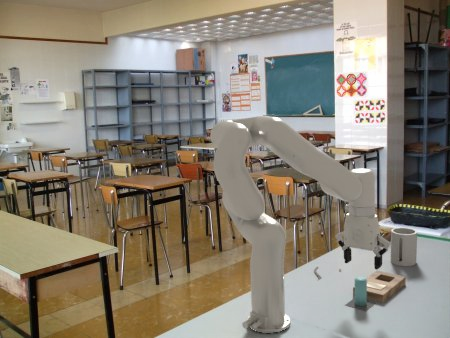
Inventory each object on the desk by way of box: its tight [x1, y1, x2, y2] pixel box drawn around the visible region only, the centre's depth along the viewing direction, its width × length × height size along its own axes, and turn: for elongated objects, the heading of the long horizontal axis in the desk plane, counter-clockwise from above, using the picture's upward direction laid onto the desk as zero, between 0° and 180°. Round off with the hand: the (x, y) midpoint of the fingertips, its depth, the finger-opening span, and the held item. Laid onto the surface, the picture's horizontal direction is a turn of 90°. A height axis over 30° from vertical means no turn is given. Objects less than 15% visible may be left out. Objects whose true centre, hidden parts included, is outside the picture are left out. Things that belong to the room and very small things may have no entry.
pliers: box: [313, 266, 342, 281], centre depth 177 cm, size 10×1×20 cm
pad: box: [344, 297, 377, 312], centre depth 155 cm, size 7×7×1 cm
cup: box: [390, 227, 418, 267], centre depth 189 cm, size 9×9×12 cm
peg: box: [354, 276, 368, 307], centre depth 154 cm, size 4×4×8 cm
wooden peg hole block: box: [352, 269, 407, 303], centre depth 165 cm, size 18×10×3 cm, turn 139°
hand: (362, 264), depth 153 cm, fingers open, 9 cm apart
